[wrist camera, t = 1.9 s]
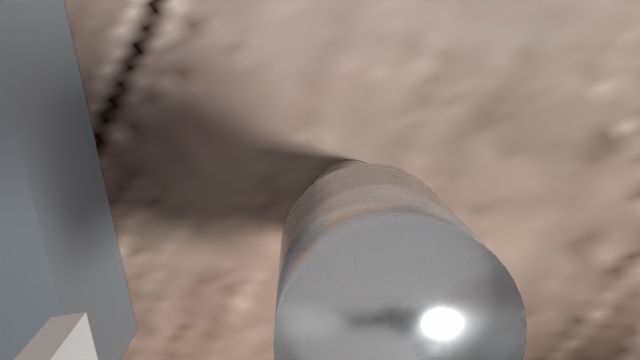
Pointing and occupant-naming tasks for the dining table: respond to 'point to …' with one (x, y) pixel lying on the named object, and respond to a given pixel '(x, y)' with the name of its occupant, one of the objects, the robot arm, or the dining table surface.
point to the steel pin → (389, 276)
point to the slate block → (53, 190)
